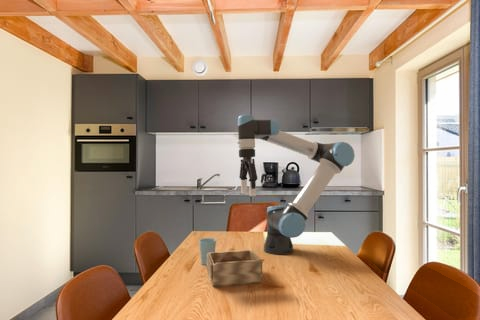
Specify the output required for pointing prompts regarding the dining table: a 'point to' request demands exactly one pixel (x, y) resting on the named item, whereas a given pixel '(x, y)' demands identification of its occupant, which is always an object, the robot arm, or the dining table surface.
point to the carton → (234, 269)
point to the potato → (230, 258)
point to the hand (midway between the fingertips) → (248, 194)
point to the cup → (206, 248)
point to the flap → (238, 262)
